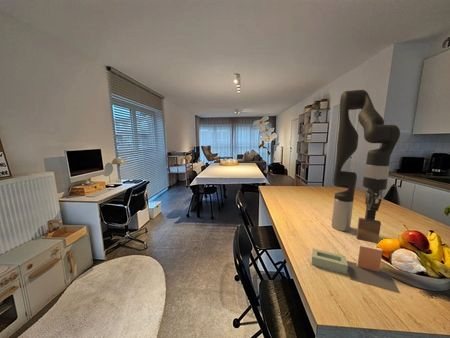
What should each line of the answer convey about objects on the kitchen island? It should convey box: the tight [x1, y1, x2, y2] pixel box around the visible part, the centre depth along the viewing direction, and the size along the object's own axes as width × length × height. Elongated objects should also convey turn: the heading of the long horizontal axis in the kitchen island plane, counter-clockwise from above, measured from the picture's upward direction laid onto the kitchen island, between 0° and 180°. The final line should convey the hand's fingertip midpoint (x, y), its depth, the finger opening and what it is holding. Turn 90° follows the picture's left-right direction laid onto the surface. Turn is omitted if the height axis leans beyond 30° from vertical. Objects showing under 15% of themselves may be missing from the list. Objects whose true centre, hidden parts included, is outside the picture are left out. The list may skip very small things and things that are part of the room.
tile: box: [356, 243, 383, 272], centre depth 74 cm, size 2×7×9 cm, turn 64°
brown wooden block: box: [356, 205, 382, 244], centre depth 78 cm, size 2×7×15 cm, turn 64°
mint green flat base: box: [310, 247, 348, 275], centre depth 77 cm, size 7×12×4 cm, turn 64°
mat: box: [347, 260, 401, 294], centre depth 71 cm, size 12×14×1 cm
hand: (369, 217), depth 77 cm, fingers closed on brown wooden block, 2 cm apart
